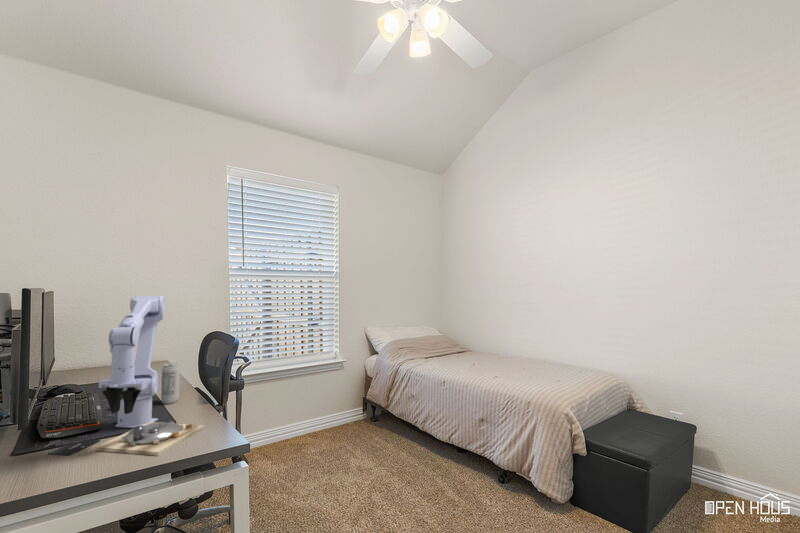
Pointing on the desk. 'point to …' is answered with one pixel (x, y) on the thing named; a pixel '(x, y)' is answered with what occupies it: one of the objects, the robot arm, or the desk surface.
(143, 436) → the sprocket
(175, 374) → the energy drink can
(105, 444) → the board
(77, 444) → the solid state drive
